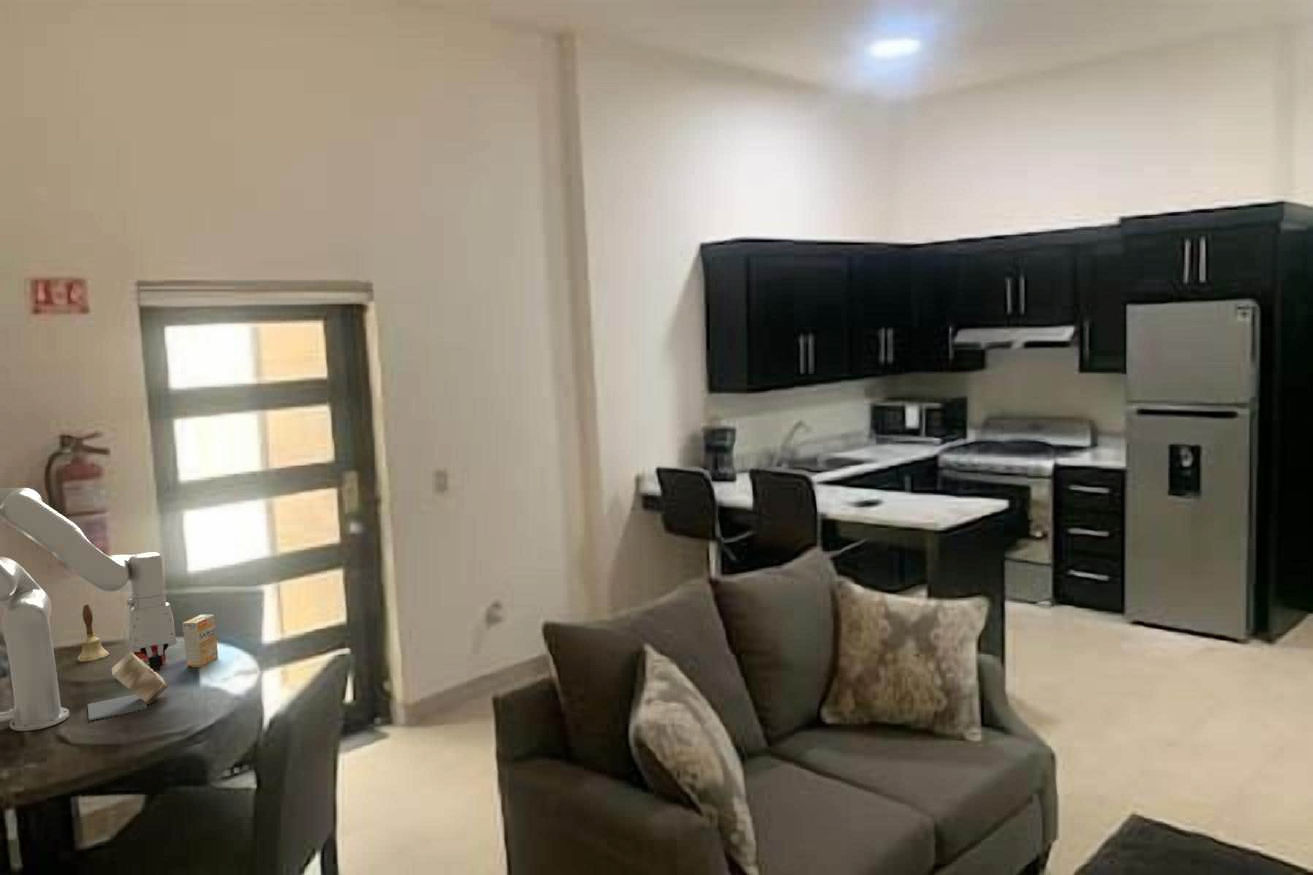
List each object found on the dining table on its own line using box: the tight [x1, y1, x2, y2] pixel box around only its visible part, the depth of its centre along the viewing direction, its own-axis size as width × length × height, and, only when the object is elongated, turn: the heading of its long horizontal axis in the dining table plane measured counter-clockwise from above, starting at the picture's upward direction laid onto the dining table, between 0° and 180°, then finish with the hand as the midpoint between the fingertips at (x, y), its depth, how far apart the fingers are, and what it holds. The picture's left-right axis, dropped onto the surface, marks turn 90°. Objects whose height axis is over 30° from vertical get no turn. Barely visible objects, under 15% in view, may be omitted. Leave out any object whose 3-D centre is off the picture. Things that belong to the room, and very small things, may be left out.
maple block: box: [111, 650, 169, 705], centre depth 263 cm, size 6×6×12 cm
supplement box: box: [181, 614, 219, 668], centre depth 292 cm, size 8×5×13 cm, turn 168°
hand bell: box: [76, 603, 110, 663], centre depth 302 cm, size 8×8×16 cm
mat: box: [87, 693, 148, 722], centre depth 261 cm, size 13×12×1 cm
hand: (156, 669), depth 265 cm, fingers closed
